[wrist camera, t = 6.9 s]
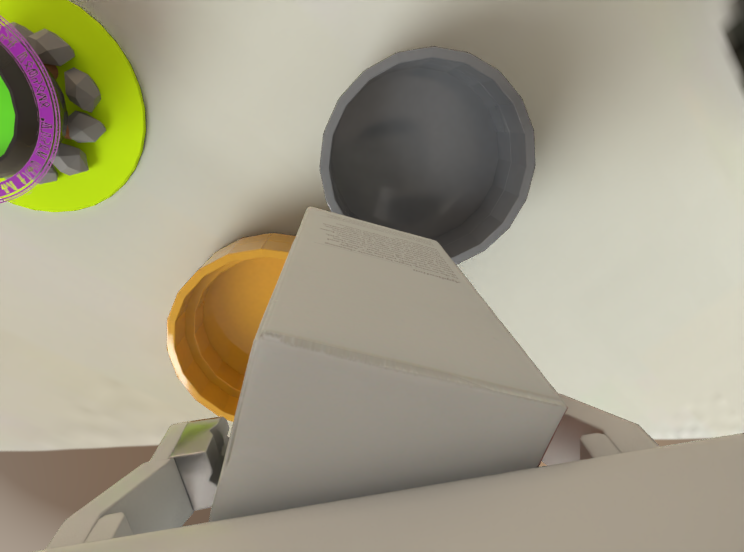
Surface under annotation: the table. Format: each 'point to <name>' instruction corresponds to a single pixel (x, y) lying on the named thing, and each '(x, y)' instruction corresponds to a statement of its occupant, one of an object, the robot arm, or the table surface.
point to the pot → (430, 149)
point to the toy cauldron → (64, 108)
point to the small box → (377, 377)
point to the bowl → (224, 318)
